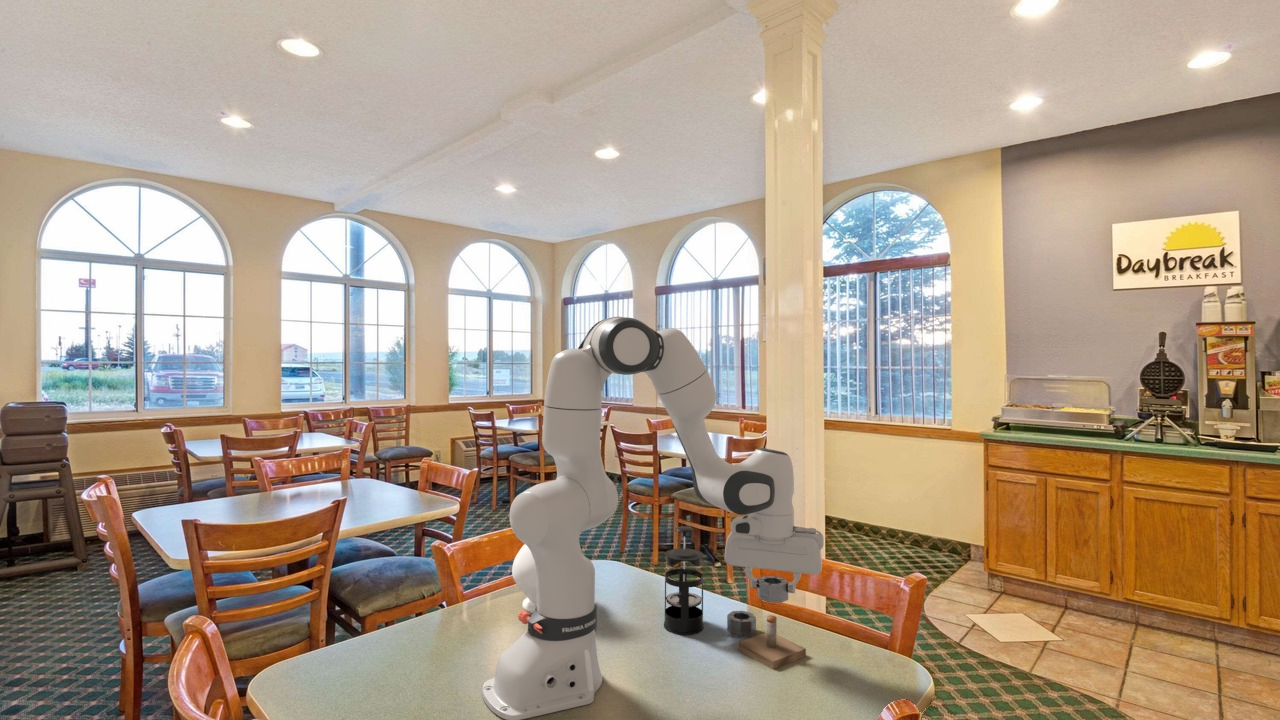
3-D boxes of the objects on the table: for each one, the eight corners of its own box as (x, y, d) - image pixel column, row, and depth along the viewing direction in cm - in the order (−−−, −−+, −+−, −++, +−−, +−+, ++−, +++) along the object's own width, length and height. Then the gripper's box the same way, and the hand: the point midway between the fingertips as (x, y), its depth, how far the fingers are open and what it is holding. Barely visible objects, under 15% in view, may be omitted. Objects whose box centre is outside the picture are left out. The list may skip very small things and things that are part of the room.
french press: (705, 636, 135) (706, 534, 135) (663, 636, 135) (664, 533, 135) (701, 615, 147) (702, 521, 147) (663, 614, 147) (664, 520, 147)
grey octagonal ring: (747, 639, 134) (748, 623, 134) (723, 632, 137) (723, 617, 137) (759, 630, 138) (759, 615, 139) (735, 623, 142) (735, 608, 142)
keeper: (772, 669, 121) (773, 631, 121) (737, 649, 129) (738, 614, 129) (805, 655, 126) (805, 620, 126) (770, 637, 135) (770, 604, 135)
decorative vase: (577, 619, 143) (578, 514, 144) (503, 617, 144) (505, 513, 144) (586, 591, 161) (587, 498, 161) (520, 590, 162) (521, 497, 162)
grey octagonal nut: (760, 602, 125) (760, 585, 125) (756, 592, 131) (756, 575, 131) (789, 602, 124) (789, 586, 125) (784, 592, 130) (784, 576, 131)
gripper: (824, 525, 127) (824, 590, 127) (728, 517, 134) (728, 579, 134) (822, 532, 122) (823, 601, 121) (723, 524, 128) (723, 589, 128)
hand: (772, 589), depth 128 cm, fingers closed on grey octagonal nut, 6 cm apart
